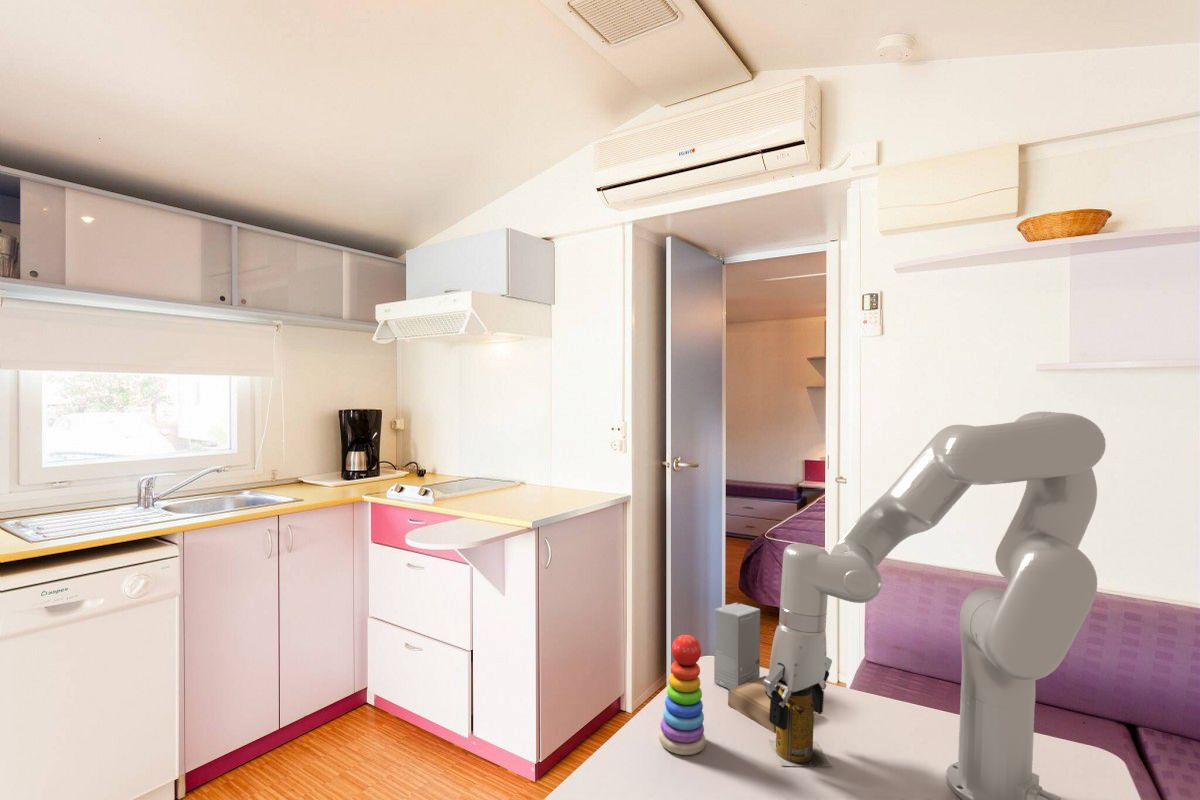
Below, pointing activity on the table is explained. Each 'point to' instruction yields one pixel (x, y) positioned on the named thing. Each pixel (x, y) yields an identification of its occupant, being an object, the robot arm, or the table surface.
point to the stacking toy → (684, 701)
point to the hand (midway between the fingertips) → (796, 717)
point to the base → (752, 702)
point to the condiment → (798, 733)
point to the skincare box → (736, 645)
